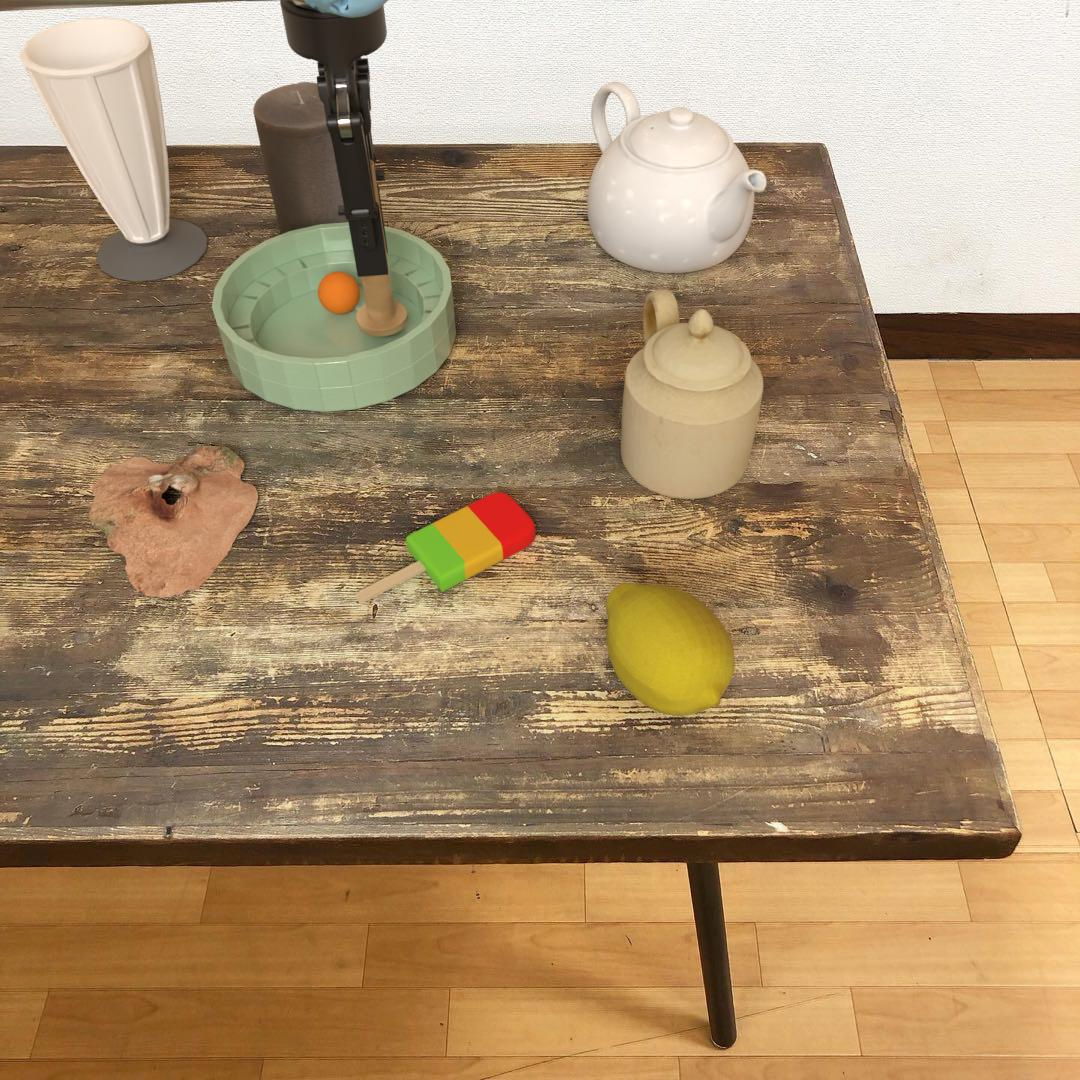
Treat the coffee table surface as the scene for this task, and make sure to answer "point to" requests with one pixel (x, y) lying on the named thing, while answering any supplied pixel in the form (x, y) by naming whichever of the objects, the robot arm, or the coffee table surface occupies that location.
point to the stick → (380, 299)
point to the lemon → (668, 648)
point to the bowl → (330, 321)
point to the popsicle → (463, 544)
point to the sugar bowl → (688, 404)
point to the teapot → (668, 188)
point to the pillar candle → (298, 156)
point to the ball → (338, 292)
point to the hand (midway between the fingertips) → (372, 262)
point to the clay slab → (173, 517)
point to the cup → (115, 139)
